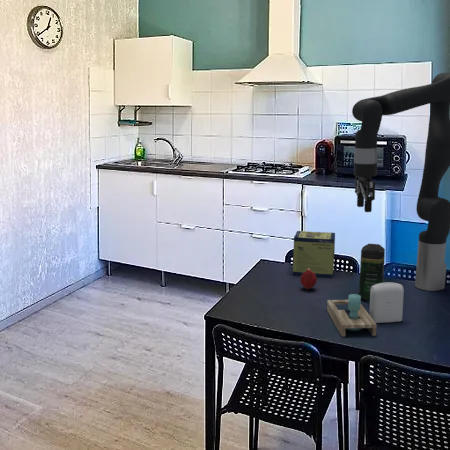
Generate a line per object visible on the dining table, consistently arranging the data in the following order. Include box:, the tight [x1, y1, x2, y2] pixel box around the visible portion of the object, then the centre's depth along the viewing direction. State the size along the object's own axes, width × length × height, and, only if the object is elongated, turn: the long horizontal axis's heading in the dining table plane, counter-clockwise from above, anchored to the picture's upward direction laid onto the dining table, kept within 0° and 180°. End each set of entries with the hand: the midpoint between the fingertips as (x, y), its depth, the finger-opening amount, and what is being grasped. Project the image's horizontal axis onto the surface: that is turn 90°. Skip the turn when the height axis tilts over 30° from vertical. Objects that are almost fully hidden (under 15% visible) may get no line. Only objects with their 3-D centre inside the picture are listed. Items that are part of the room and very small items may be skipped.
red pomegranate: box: [299, 268, 318, 290], centre depth 197 cm, size 6×6×8 cm
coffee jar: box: [358, 243, 386, 302], centre depth 188 cm, size 10×8×19 cm
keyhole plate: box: [326, 299, 378, 337], centre depth 169 cm, size 10×20×4 cm, turn 2°
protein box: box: [292, 230, 336, 279], centre depth 215 cm, size 10×16×16 cm
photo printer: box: [368, 281, 405, 324], centre depth 169 cm, size 10×4×12 cm, turn 96°
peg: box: [346, 293, 363, 332], centre depth 165 cm, size 5×5×10 cm
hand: (364, 209), depth 186 cm, fingers open, 8 cm apart
